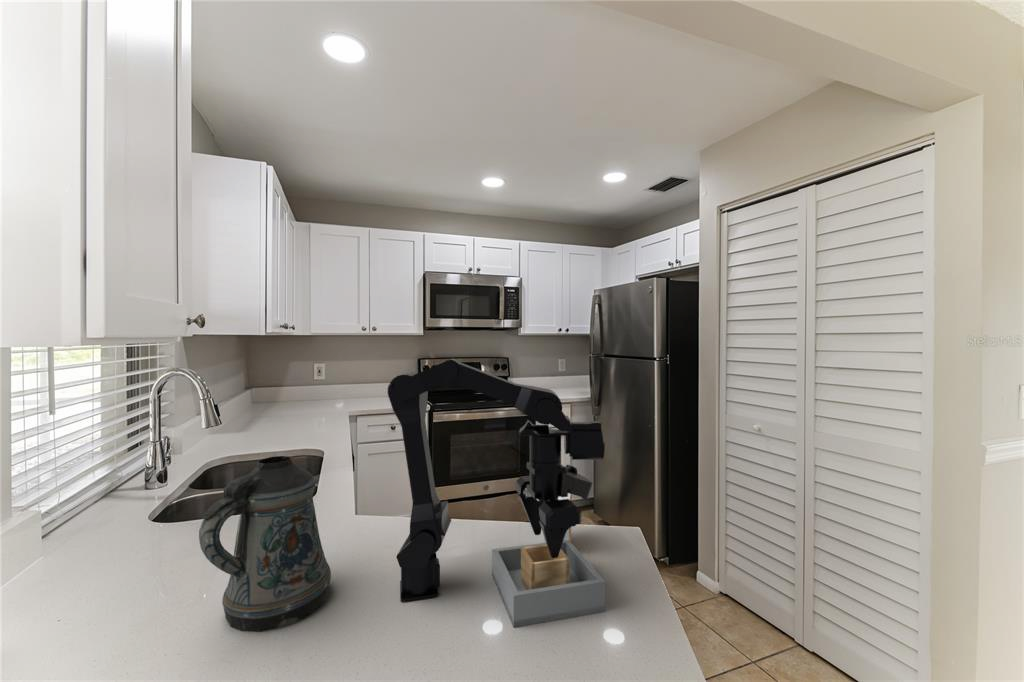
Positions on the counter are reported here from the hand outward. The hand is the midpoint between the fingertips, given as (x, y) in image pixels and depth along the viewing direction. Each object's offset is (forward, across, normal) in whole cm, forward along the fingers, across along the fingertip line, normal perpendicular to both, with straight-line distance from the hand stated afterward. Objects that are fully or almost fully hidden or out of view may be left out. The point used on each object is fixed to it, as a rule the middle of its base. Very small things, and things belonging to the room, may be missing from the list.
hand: (545, 545), depth 78 cm
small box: (+9, +17, -9) cm, 21 cm away
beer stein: (+8, +8, +46) cm, 48 cm away
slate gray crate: (+8, 0, 0) cm, 8 cm away
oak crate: (+7, 0, 0) cm, 7 cm away
